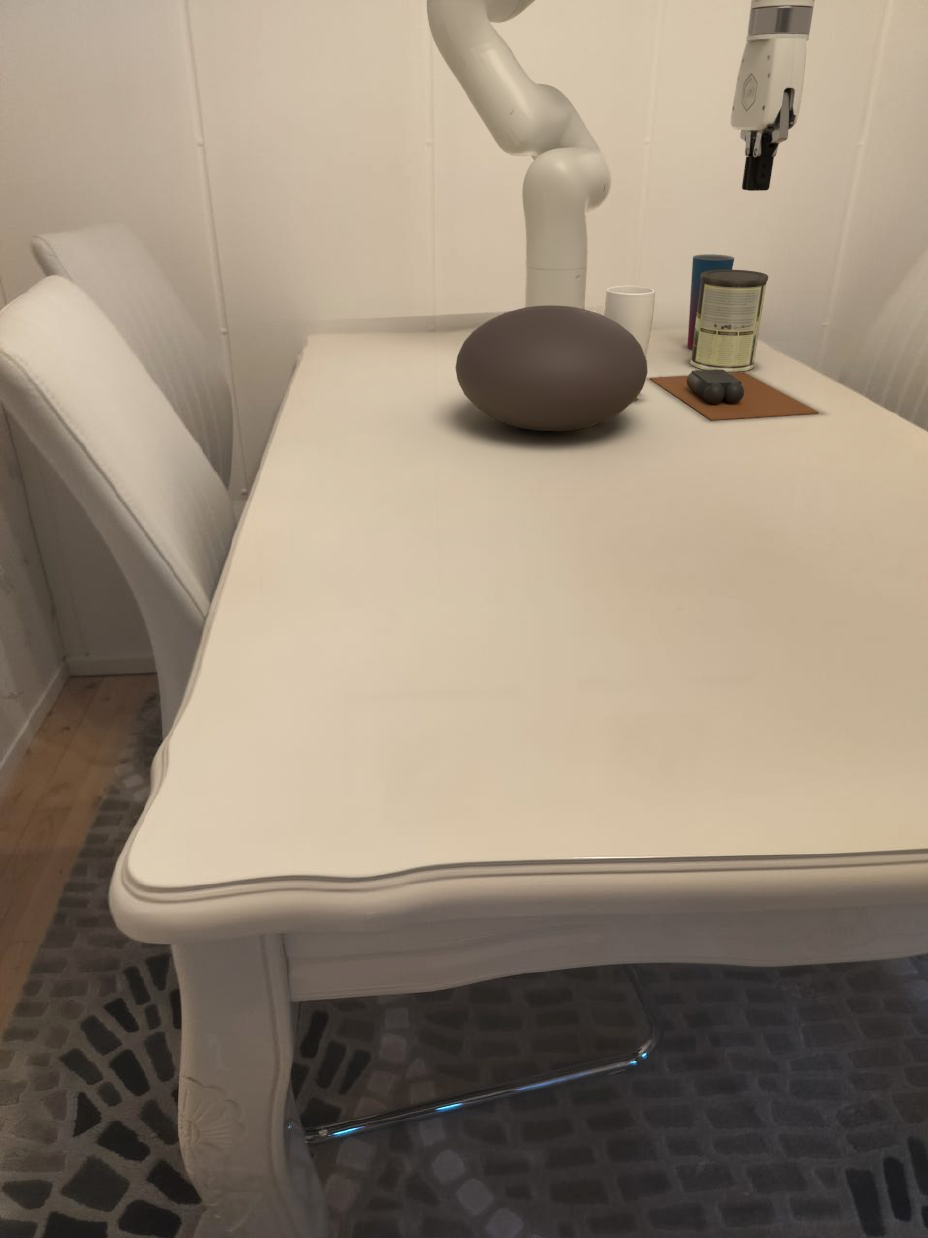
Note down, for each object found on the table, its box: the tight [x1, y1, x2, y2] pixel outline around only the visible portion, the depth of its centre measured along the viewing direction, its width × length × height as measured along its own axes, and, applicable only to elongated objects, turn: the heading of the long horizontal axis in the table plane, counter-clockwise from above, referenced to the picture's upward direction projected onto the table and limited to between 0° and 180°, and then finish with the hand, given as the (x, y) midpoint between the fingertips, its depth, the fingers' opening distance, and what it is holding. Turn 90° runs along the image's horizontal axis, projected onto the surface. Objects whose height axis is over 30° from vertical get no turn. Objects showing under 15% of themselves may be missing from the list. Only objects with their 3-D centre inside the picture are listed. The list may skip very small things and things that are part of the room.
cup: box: [686, 253, 735, 351], centre depth 153 cm, size 7×7×15 cm
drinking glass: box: [603, 285, 656, 401], centre depth 126 cm, size 7×7×15 cm
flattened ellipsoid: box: [455, 305, 648, 432], centre depth 115 cm, size 25×25×15 cm
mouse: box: [687, 369, 744, 404], centre depth 128 cm, size 6×10×3 cm, turn 7°
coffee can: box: [690, 269, 769, 373], centre depth 143 cm, size 10×10×14 cm
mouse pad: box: [649, 372, 819, 421], centre depth 130 cm, size 16×22×1 cm
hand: (755, 189), depth 120 cm, fingers closed
